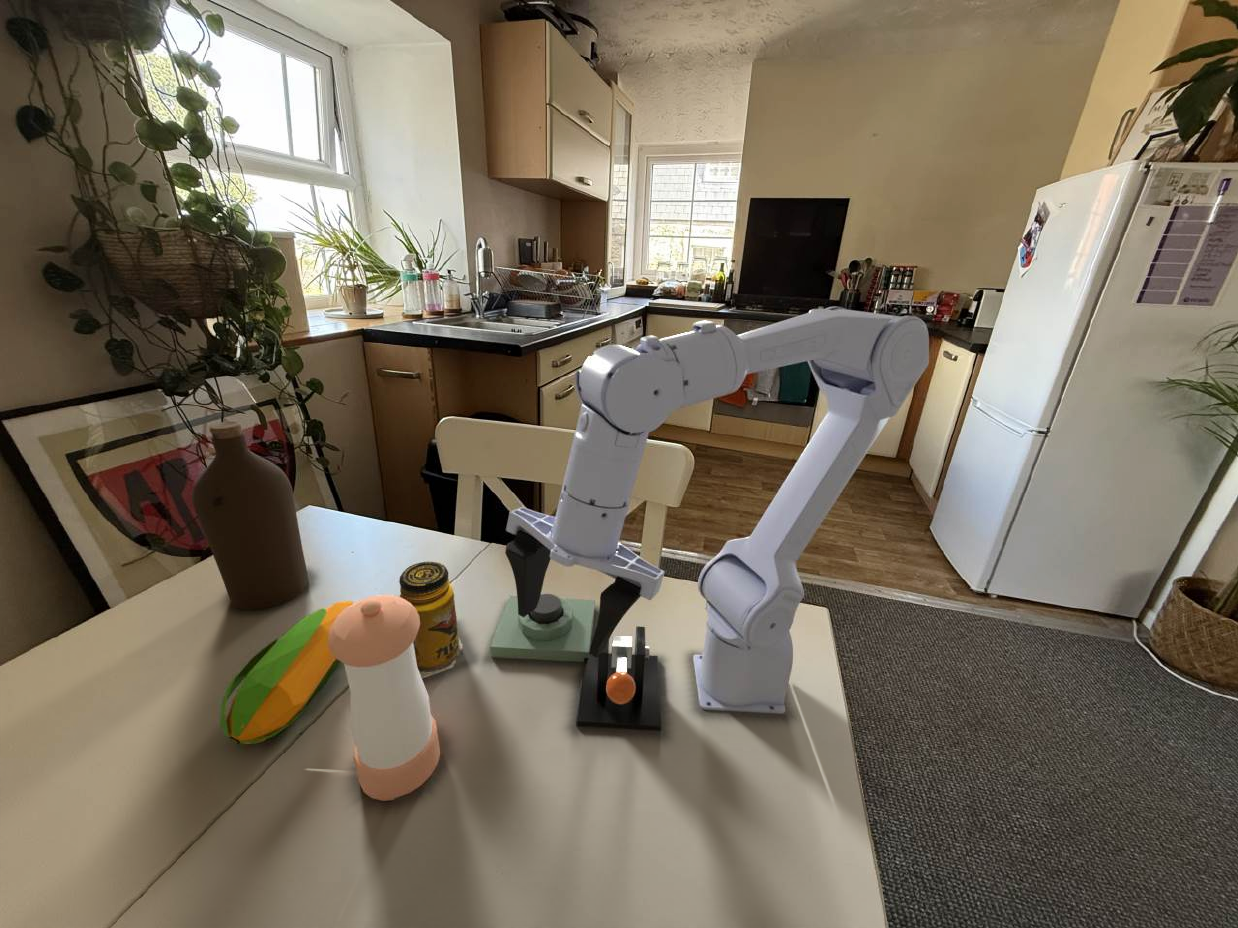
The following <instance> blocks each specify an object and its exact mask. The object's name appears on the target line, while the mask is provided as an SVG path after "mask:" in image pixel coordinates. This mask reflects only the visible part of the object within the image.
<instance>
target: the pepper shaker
mask: <svg viewBox="0 0 1238 928" xmlns="http://www.w3.org/2000/svg"><path fill="white" fill-rule="evenodd" d="M419 626H420V618H419V614H418V612H417V610H416V609H415V608H414V606H413V605H412V604H411V603H410V602H408V601H407V600H405V599H403V598H401V597H400V595H399V596H398V595H392V594H378V595H374V596H368V597H365V598H363V599H361V600H358V601H355V602H353V604H352V605H350V606H349V607H347V608H345V609H344V610H343V611H342V612H341V613H340V614H339V615H338V616H337V618H336V620H335V621H334V623H333V625H332V626H331V628H330V630H329V639H328V647H329V649H330V651H331V653H332V654H333V655H334V657H335V658H336V659H338V660H339V661H340V663H343V665H344V670H345V674H346V678H347V683H348V687H349V693H350V731H351V735H352V739H353V742H354V744H355V745H354V747H353V762H354V766H355V770H356V774H357V778H358V783H359V785H360V787H361V789H362V791H363V793H364V794H365V795H367V796H368V797H369V798H371V799H374V800H378V801H380V802H381V801H382V802H386V801H394V800H395V799H397V798H399V797H402V796H405V795H408V794H410V793H412V792H413V791H415V790H416V789H418V788H420V787H421V786H422V785H423V784H424V783H425V782H426V781H427V780H428V779H429V778H430V777H431V776H432V774H433V773H434V771H435V769H436V767H437V766H438V764H439V760H440V755H441V749H440V740H439V735H438V734H439V733H438V726H437V721H436V720H435V718H434V717H433V715H432V714H431V703H430V695H429V694H428V691H427V689H426V685H425V683H424V680H423V678H421V675H420V673H419V670H418V668H417V663H416V657H415V651H414V645H413V642H414V640H415V638H416V635H417V633H418V630H419ZM336 659H335V660H336Z"/></svg>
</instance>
